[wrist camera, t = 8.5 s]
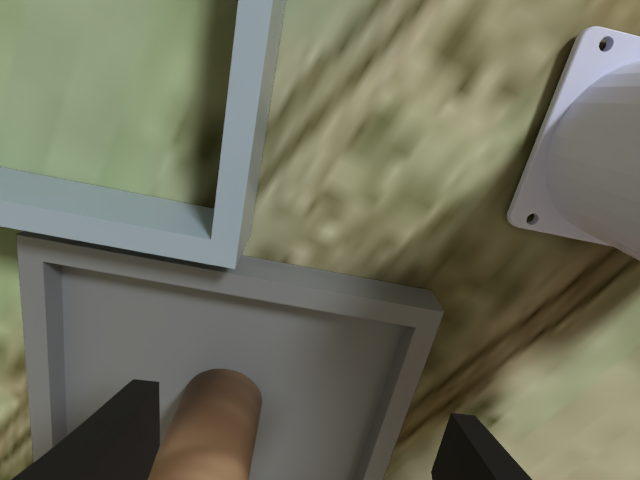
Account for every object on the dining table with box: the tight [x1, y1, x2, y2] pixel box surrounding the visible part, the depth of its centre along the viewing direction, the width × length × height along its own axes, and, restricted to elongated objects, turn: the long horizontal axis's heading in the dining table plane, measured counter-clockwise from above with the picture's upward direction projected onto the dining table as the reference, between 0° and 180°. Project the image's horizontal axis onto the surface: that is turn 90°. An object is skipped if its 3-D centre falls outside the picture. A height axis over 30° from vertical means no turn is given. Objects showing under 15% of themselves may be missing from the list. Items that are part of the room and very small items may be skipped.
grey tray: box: [16, 231, 444, 480], centre depth 20 cm, size 18×16×2 cm
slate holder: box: [0, 0, 286, 269], centre depth 13 cm, size 14×14×4 cm
